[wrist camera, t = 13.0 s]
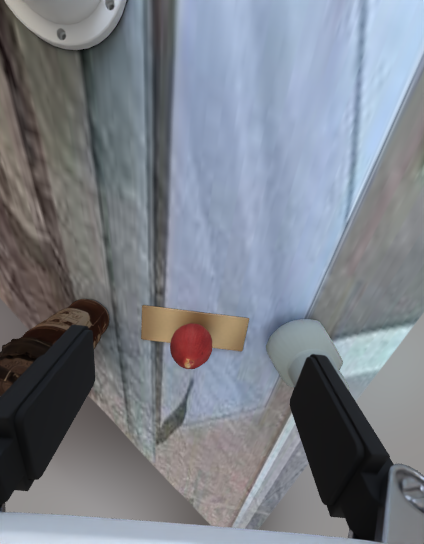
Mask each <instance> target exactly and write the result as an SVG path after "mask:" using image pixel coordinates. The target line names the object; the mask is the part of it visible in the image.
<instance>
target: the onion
mask: <svg viewBox="0 0 424 544" xmlns="http://www.w3.org/2000/svg"><path fill="white" fill-rule="evenodd" d="M170 350H171V354H172V357H173V359H174V361H175V362H176V363H177V364H178V365H179V366H181V367H183V368H186V369H195V368H197V367H199V366H201V365H202V364H203V363H205V362H206V361H207V360H208V358H209V356H210V355H211V352H212V338H211V335H210V333H209V332H208V331H207V330H206V329H205V328H204V327H203V326H201V325H199V324H193V323H190V324H186V325H183V326H181V327H180V328H178V329H177V330H176V331H175V332H174V334H173V336H172V338H171V343H170Z"/></svg>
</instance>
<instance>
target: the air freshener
mask: <svg viewBox="0 0 424 544" xmlns="http://www.w3.org/2000/svg"><path fill="white" fill-rule="evenodd" d="M266 350H267V352H268V355H269V357H270V359H271V361H272V363H273V364H274V366H275V368H276V370H277V371H278V373H279V374H280V376H281V377H282V379H283V380H284V382H285V383H286V384H287V385H288V386H291V387H294V388H295V386H296V383H297V381H298V378H299V375H300V373H301V370H302V368H303V365H304V363H305V360H306V358H307V357H310V355H311V354H317V355H325V356H327V357H328V359H329V360H330V362H331V363H332V365H333V367H334V368H335V370H336V371H337V373H338V375H339V376H340V378H341V379H342V381H343V383H344V384H345V386H346V387H347V389H348V391H349V386H348V384H347V382H346V380H345V379H344V377H343V376H342V374H341V373H340V371H339V370H340V368H341V366H342V364H343V361H342V358H341V356H340V355H339V353H338V351H337V349H336V347H335V345H334V344H333V342H332V340H331V339H330V337H329V335H328V334H327V332H326V331H325V329H324V327H323V326H322V324H321V323H320V322H319V321H316V320H312V319H299V320H294V321H291V322H288V323H286V324H284V325H282V326H281V327H279V328H278V329H277V330H276V331H275V332H274V333H273V334H272V335H271V336H270V338H269V340H268V342H267V345H266Z"/></svg>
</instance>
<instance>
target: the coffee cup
mask: <svg viewBox="0 0 424 544" xmlns="http://www.w3.org/2000/svg"><path fill="white" fill-rule="evenodd" d="M108 324H109V315H108V312H107V310H106V309H105V308H104V307H103V306H102V305H101V304H99V303H98V302H96V301H93V300H89V299H80V300H77V301H75V302H74V303H72V304H71V305H70V306H69V307H68V308H66V309H63V310H61V311H59V312H57V313H56V314H54V315H53V316H51V317H49V318H48V319H47V320H45V321H43V322H41V323H40V324H38V325H36V326H35V327H34V328H32V329H30V330H29V331H27V332H26V333H25V334H24V335H23V337H21V338H19V339H12V340H11V342H9V343H7V344H6V345H3V346H2V351H1V352H0V397H1V396H2V395H3V394H4V393H5V391H6V390H7V389H8V388H9V387H10V386H11V385H12V384H13V383H14V382H15V381H16V380H17V379H18V378H19V377H20V376H21V375H22V374H23V373H24V372H25V371H26V370H27V368H28V367H29V366H30V365H31V364H32V363H33V362H34V361H35V360H36V359H37V358H38V357H40V356H42V355H44V354H45V353H46V352H47V351H48V350H49V349H50V348H51V346H52V345H53V344H54V343H55V342H56V341H57V340H58V339H59V338H60V337H61V336H62V335H63V334H64V333H65V332H66V330H67V329H68V328H69V327H70V326H71V325H82V326H88V327H89V330H92V332H93V346H94V349H95V347H96V345H97V343H98V342H99V340H100V338H101V335H102V334H103V333H104V332H105V331H106V329H107V327H108Z"/></svg>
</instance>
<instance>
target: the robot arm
mask: <svg viewBox="0 0 424 544" xmlns="http://www.w3.org/2000/svg"><path fill="white" fill-rule="evenodd" d="M4 1H5V2H6V4H7V5H8V7H9V8H10V9H11V11H12V12H13V13H14V14H15V16H16V17H17V18H18V19H19V20H20V21H21V22H22V23H23V24H24V25H25V26H26V27H27V28H28V29H29V30H31V31H32V32H33V33H34V34H36V35H37V36H38V37H39V38H41V39H42V40H44V41H46V42H48V43H50V44H51V45H53V46H57V47H60V48H63V49H69V50H81V49H87V48H90V47H92V46H95V45H97V44H99V43H100V42H101V41H103V40H104V39H105V38H106V37H108V36H109V34H110V33H111V32H112V31H113V29H114V28H115V27H116V25H117V23H118V22H119V20H120V18H121V16H122V14H123V10H124V7H125V4H126V1H127V0H4ZM112 8H114V9H113V10H112ZM65 37H66V38H65ZM94 381H95V364H94V346H93V332H92V330H89V327H88V326H82V325H71V326H70V327H69V328H68V329H67V330H66V332H65V333H64V334H63V335H62V336H61V337H60V338H59V339H58V340H57V341H56V342H55V343H54V344H53V345H52V346H51V348H50V349H49V350H48V351H47V352H46V353H45V354H44V355H42V356H40V357H38V358H37V359H36V360H35V361H34V362H33V363H32V364H31V365H30V366H29V367H28V368H27V370H26V371H25V372H24V373H23V374H22V375H21V376H20V377H19V378H18V379H17V380H16V381H15V382H14V383H13V384H12V385H11V386H10V387H9V388H8V389H7V390H6V391H5V393H4V394H3V395H2V396H1V397H0V544H424V476H423V475H422V474H421V473H420V472H418V471H417V470H415V469H413V468H411V467H410V466H407V465H403V464H393V463H392V461H391V459H390V458H389V457H390V456H389V454H388V453H387V451H386V449H385V448H384V446H383V445H382V443H381V442H380V440H379V438H378V437H377V435H376V433H375V432H374V430H373V429H372V427H371V426H370V424H369V422H368V421H367V420H366V418H365V416H364V415H363V413H362V411H361V410H360V408H359V406H358V405H357V403H356V402H355V400H354V398H353V397H352V395H351V394H350V392H349V391H348V389H347V387H346V386H345V384H344V383H343V381H342V379H341V378H340V376H339V375H338V373H337V371H336V370H335V368H334V367H333V365H332V363H331V362H330V360H329V359H328V357H327V356H325V355H317V354H311V355H310V357H307V358H306V360H305V363H304V365H303V368H302V370H301V373H300V375H299V378H298V381H297V383H296V386H295V388H294V391H293V393H292V396H291V398H290V408H291V411H292V414H293V417H294V420H295V423H296V426H297V429H298V432H299V435H300V438H301V441H302V444H303V447H304V450H305V453H306V456H307V459H308V462H309V465H310V468H311V471H312V474H313V477H314V480H315V483H316V486H317V489H318V492H319V495H320V498H321V500H322V502H323V503H324V504H325V505H327V508H328V511H329V513H330V516H331V517H340V518H346V521H347V524H348V526H349V534H348V538H340V537H331V536H322V535H311V534H300V533H288V532H275V531H264V530H253V529H242V528H229V527H217V526H204V525H192V524H179V523H167V522H153V521H141V520H127V519H114V518H100V517H87V516H73V515H55V514H38V513H37V514H36V513H18V512H5V502H6V501H8V499H9V498H10V496H11V494H12V493H13V491H14V490H21V491H28V490H29V488H30V487H31V485H32V483H33V481H34V480H35V479H39V478H40V477H41V476H42V475H43V473H44V471H45V470H46V468H47V466H48V464H49V462H50V461H51V459H52V457H53V455H54V454H55V452H56V450H57V448H58V447H59V445H60V443H61V441H62V440H63V438H64V436H65V434H66V432H67V431H68V429H69V427H70V425H71V424H72V422H73V420H74V418H75V417H76V415H77V413H78V411H79V410H80V408H81V406H82V404H83V402H84V401H85V399H86V397H87V395H88V394H89V392H90V390H91V388H92V387H93V384H94Z"/></svg>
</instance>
